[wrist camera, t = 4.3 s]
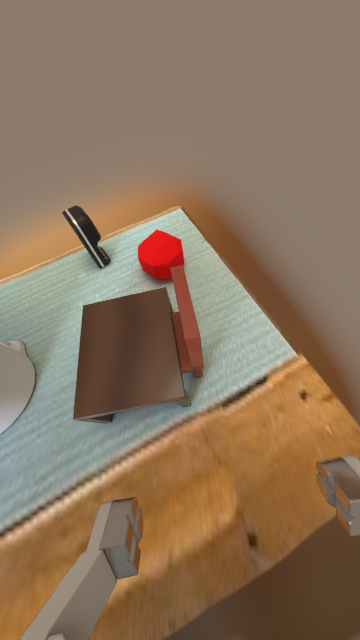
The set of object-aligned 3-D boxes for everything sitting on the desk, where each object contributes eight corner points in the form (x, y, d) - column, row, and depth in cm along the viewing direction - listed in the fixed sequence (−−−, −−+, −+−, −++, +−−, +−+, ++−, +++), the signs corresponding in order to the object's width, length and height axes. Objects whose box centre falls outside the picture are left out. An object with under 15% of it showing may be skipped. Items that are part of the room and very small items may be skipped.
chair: (140, 390, 31) (91, 360, 18) (136, 337, 35) (95, 284, 23) (204, 377, 31) (200, 336, 18) (192, 325, 35) (182, 264, 22)
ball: (164, 250, 46) (156, 220, 39) (191, 265, 43) (188, 234, 36) (139, 273, 43) (126, 244, 37) (166, 290, 40) (157, 261, 34)
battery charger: (115, 261, 46) (90, 215, 36) (101, 270, 45) (70, 224, 35) (103, 246, 49) (77, 199, 39) (89, 254, 49) (59, 208, 39)
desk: (104, 423, 30) (72, 420, 23) (105, 328, 38) (82, 305, 31) (191, 405, 29) (185, 396, 22) (174, 313, 37) (165, 286, 30)
